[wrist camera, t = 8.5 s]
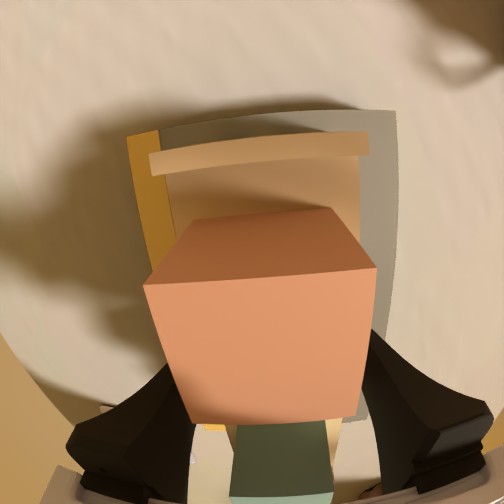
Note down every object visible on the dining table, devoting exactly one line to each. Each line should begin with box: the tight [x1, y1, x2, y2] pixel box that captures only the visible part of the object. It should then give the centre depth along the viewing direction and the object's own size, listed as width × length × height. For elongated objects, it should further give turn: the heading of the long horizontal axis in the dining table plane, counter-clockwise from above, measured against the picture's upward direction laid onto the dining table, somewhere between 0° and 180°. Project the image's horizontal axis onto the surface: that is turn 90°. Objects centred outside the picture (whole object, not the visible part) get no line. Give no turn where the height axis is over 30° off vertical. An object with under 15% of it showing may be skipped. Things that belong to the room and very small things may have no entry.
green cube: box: [229, 420, 334, 504], centre depth 11 cm, size 4×4×4 cm
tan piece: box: [149, 132, 369, 482], centre depth 13 cm, size 18×6×6 cm, turn 6°
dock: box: [126, 110, 399, 431], centre depth 17 cm, size 20×12×3 cm, turn 6°
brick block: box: [143, 208, 377, 425], centre depth 7 cm, size 4×4×4 cm
